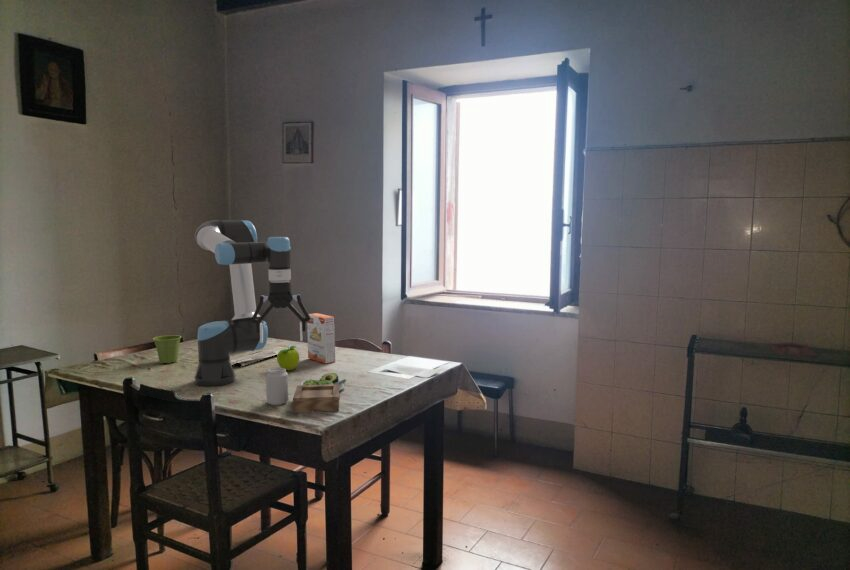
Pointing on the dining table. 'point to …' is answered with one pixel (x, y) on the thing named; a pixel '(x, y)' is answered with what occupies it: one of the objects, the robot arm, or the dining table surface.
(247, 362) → the newspaper
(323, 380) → the salad plate
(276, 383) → the can
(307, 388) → the wooden tray
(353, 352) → the dining table surface
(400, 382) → the dining table surface
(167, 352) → the plant pot
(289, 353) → the fruit
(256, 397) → the dining table surface
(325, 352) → the cracker box
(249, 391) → the dining table surface
